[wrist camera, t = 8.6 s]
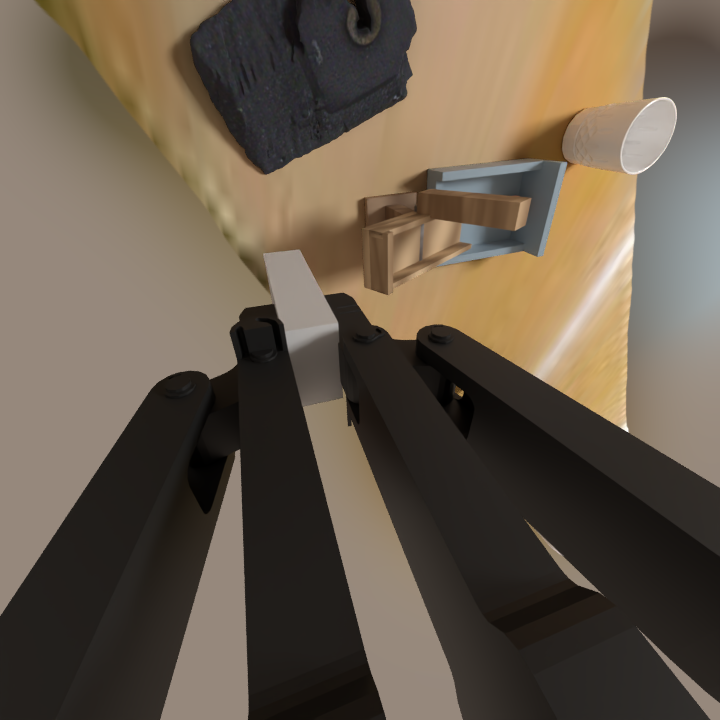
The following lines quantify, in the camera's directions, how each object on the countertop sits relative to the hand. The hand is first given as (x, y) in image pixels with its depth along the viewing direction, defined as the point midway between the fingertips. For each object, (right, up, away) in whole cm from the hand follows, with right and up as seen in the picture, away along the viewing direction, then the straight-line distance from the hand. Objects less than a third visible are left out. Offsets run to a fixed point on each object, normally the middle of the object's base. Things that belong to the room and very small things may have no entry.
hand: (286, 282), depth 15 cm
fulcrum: (+7, +16, +32) cm, 37 cm away
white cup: (+35, +29, +35) cm, 57 cm away
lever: (+10, +11, +25) cm, 29 cm away
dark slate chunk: (-2, +28, +21) cm, 35 cm away
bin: (+20, +19, +35) cm, 45 cm away
